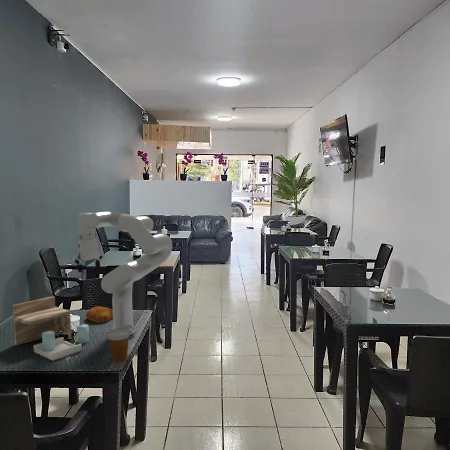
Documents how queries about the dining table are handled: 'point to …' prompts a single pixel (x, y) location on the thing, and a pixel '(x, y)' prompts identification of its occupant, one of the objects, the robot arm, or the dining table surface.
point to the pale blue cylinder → (83, 333)
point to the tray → (55, 347)
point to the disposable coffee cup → (118, 344)
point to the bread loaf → (99, 314)
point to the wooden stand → (39, 320)
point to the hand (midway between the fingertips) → (89, 270)
